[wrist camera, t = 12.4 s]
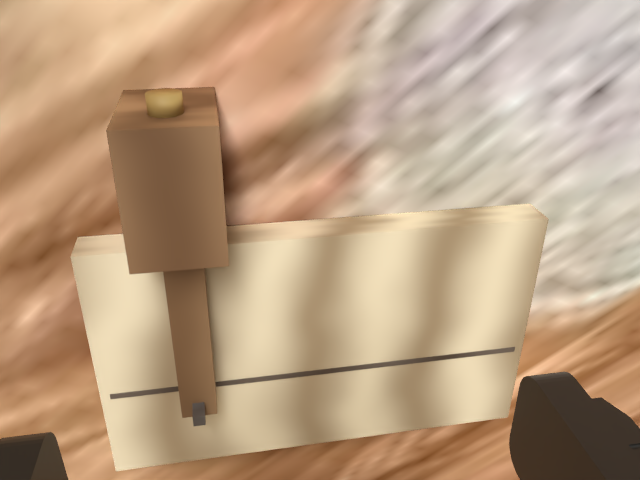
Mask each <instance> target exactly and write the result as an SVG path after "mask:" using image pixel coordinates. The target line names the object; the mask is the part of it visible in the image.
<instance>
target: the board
mask: <svg viewBox="0 0 640 480" xmlns="http://www.w3.org/2000/svg"><path fill="white" fill-rule="evenodd" d="M547 224H548V218H547V217H546V216H544V215H543V214H542V213H541V212H540V211H538V210H537V209H536V208H535V207H534V206H532V205H531V204H519V205H505V206H492V207H478V208H465V209H451V210H438V211H424V212H411V213H397V214H384V215H370V216H357V217H343V218H330V219H317V220H303V221H290V222H276V223H263V224H249V225H236V226H226V229H227V243H228V257H229V266H225V267H213V268H205V274H206V285H207V296H208V307H209V317H210V328H211V339H212V350H213V361H214V371H215V382H216V393H217V414H211V415H205V417H206V425H201V426H193V418H192V417H187V418H182V413H181V405H180V397H179V390H178V382H177V374H176V367H175V359H174V351H173V344H172V336H171V328H170V321H169V313H168V306H167V298H166V290H165V283H164V275H163V272H153V273H142V274H129V268H128V262H127V256H126V250H125V243H124V237H123V234H115V235H101V236H88V237H78V238H77V241H76V243H75V246H74V249H73V252H72V254H71V261H72V266H73V271H74V275H75V280H76V285H77V290H78V294H79V299H80V304H81V308H82V313H83V318H84V323H85V327H86V332H87V337H88V341H89V346H90V351H91V356H92V360H93V365H94V370H95V374H96V379H97V384H98V389H99V393H100V398H101V403H102V407H103V412H104V417H105V422H106V426H107V431H108V436H109V440H110V445H111V450H112V455H113V459H114V464H115V469H116V471H122V470H129V469H136V468H144V467H151V466H158V465H165V464H173V463H180V462H187V461H194V460H202V459H209V458H216V457H223V456H231V455H238V454H245V453H252V452H259V451H267V450H274V449H281V448H288V447H296V446H303V445H310V444H317V443H325V442H332V441H339V440H346V439H354V438H361V437H368V436H375V435H383V434H390V433H397V432H404V431H412V430H419V429H426V428H433V427H441V426H448V425H455V424H462V423H470V422H477V421H484V420H491V419H499V418H506V417H508V414H509V409H510V404H511V399H512V395H513V390H514V385H515V380H516V375H517V370H518V365H519V361H520V356H521V351H522V346H523V341H524V336H525V331H526V326H527V322H528V317H529V312H530V307H531V302H532V297H533V292H534V288H535V283H536V278H537V273H538V268H539V263H540V258H541V253H542V249H543V244H544V239H545V234H546V229H547Z"/></svg>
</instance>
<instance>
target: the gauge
mask: <svg viewBox="0 0 640 480" xmlns="http://www.w3.org/2000/svg"><path fill="white" fill-rule="evenodd" d="M106 132H107V138H108V144H109V151H110V157H111V163H112V169H113V175H114V181H115V188H116V194H117V200H118V206H119V212H120V219H121V225H122V231H123V237H124V243H125V250H126V256H127V262H128V268H129V274H142V273H153V272H163V275H164V283H165V290H166V298H167V306H168V313H169V321H170V328H171V336H172V344H173V351H174V359H175V367H176V374H177V382H178V390H179V397H180V405H181V413H182V418H187V417H192V418H193V426H201V425H206V417H205V415H211V414H217V393H216V382H215V371H214V361H213V350H212V339H211V328H210V317H209V307H208V296H207V285H206V274H205V268H213V267H225V266H229V257H228V243H227V229H226V215H225V201H224V187H223V172H222V158H221V144H220V130H219V120H218V112H217V104H216V96H215V88H214V87H204V88H175V89H171V88H162V89H146V90H123V92H122V95H121V97H120V99H119V102H118V104H117V107H116V109H115V111H114V114H113V116H112V119H111V121H110V123H109V126H108V128H107V130H106Z"/></svg>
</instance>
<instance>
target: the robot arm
mask: <svg viewBox="0 0 640 480" xmlns="http://www.w3.org/2000/svg"><path fill="white" fill-rule="evenodd" d="M509 444H510V454H511V458H512V462H513V465H514V468H515V470H516V473H517V475H518V477H519V478H520V480H640V428H639V427H638V426H637V425H636V424H635V423H634V421H633V420H632V419H631V418H630V417H629V416H627V415H626V414H625V413H623V412H622V411H620V410H619V409H617V408H616V407H614V406H613V405H611V404H610V403H608V402H607V401H606V400H604V399H603V398H594V399H591V398H590V396H589V395H588V394H587V393H586V391H585V390H584V389H583V388H582V386H581V385H580V384H579V383H578V381H577V380H576V379H575V378H574V377H573V376H572V375H571V374H570V373H568V372H559V373H550V374H542V375H534V376H526V377H524V378H523V379H522V381H521V383H520V387H519V392H518V397H517V402H516V407H515V413H514V418H513V423H512V428H511V433H510V442H509ZM0 480H68V477H67V474H66V470H65V467H64V463H63V460H62V457H61V453H60V450H59V446H58V443H57V440H56V437H55V435H54V434H53V433H51V432H48V433H40V434H32V435H24V436H15V437H7V438H2V439H0Z"/></svg>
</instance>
